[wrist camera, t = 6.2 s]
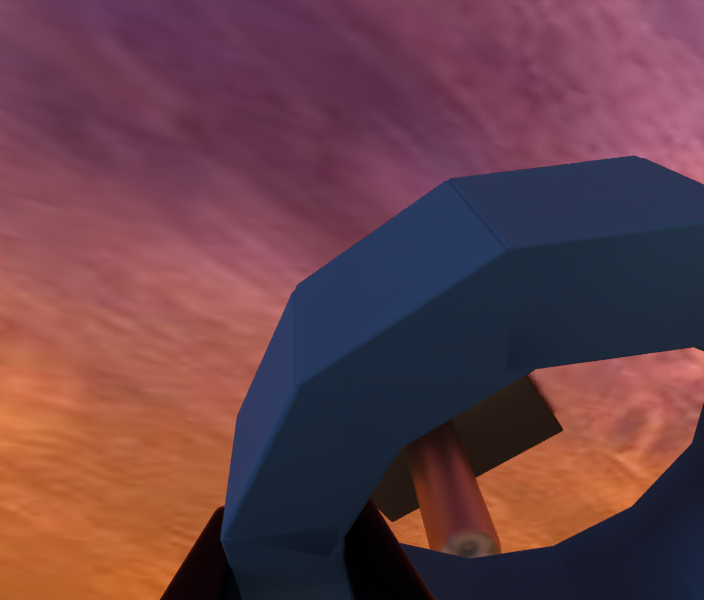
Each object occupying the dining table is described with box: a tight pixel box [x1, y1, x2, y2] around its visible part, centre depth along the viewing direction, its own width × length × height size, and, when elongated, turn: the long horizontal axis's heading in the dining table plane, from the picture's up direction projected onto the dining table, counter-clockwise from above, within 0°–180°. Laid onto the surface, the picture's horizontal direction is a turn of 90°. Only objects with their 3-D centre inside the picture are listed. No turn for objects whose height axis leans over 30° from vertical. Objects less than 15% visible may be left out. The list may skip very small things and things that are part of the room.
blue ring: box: [220, 156, 704, 600], centre depth 9 cm, size 10×10×2 cm
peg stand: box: [370, 375, 563, 558], centre depth 20 cm, size 9×9×8 cm
